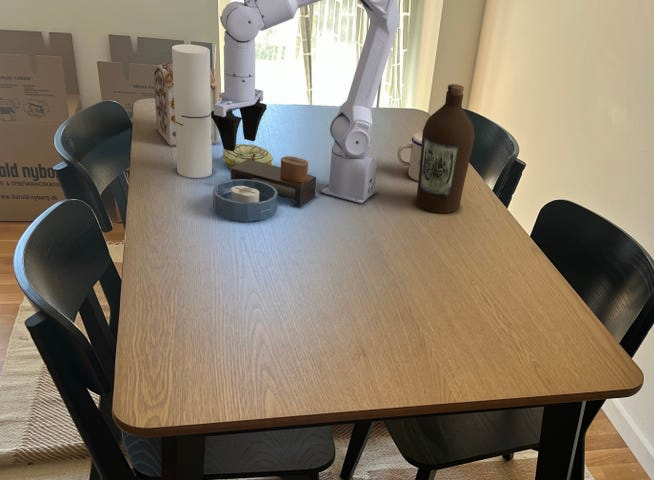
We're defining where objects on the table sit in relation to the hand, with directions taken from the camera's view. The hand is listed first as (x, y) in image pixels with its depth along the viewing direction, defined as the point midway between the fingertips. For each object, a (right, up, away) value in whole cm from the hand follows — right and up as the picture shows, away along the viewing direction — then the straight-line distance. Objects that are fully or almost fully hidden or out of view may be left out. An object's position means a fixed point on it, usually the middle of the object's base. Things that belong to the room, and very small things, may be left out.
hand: (239, 144), depth 148 cm
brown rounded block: (+10, -5, +5) cm, 12 cm away
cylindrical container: (-12, -2, +13) cm, 18 cm away
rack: (+5, -8, +9) cm, 13 cm away
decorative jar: (-19, +10, +30) cm, 37 cm away
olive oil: (+40, -9, +14) cm, 43 cm away
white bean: (+1, -13, 0) cm, 13 cm away
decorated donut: (-2, +1, +20) cm, 20 cm away
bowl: (+1, -13, 0) cm, 13 cm away
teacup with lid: (+36, 0, +27) cm, 45 cm away
